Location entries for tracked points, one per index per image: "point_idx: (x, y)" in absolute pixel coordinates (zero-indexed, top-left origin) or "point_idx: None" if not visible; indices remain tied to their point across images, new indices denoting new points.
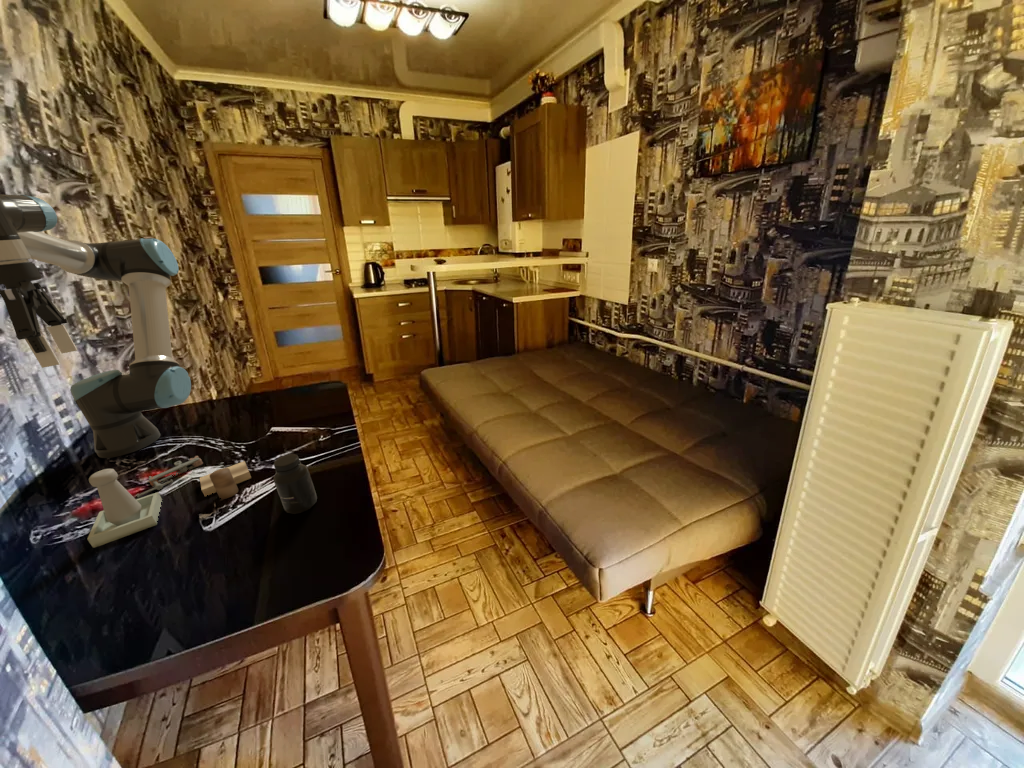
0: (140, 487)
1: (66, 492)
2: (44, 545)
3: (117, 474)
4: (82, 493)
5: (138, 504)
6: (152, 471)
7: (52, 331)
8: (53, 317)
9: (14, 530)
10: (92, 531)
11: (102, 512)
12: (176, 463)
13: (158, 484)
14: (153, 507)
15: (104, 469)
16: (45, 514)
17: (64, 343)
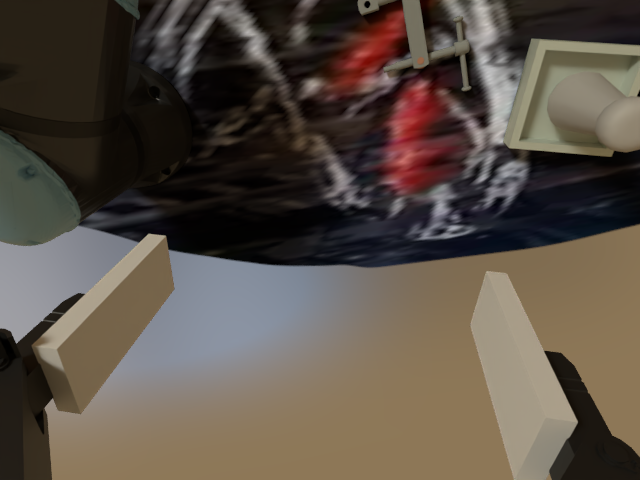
0: (409, 88)
1: (302, 212)
2: (497, 217)
3: (633, 96)
4: (332, 188)
5: (594, 74)
6: (341, 68)
7: (99, 373)
8: (31, 433)
9: (390, 260)
10: (588, 151)
11: (519, 142)
12: (370, 7)
13: (463, 46)
14: (616, 46)
15: (621, 121)
16: (370, 230)
17: (144, 294)
